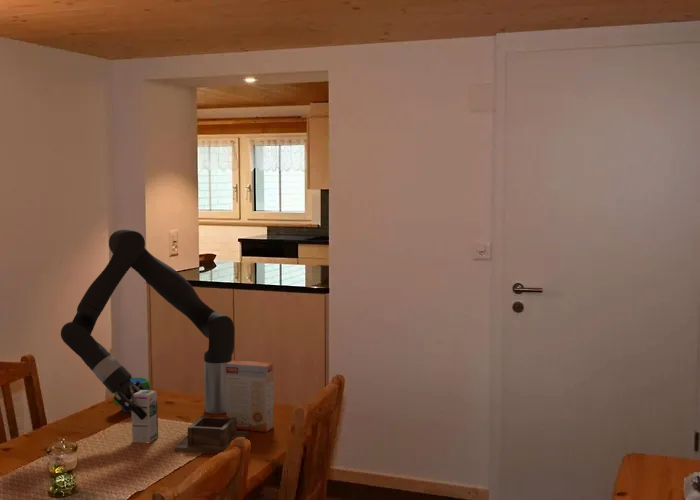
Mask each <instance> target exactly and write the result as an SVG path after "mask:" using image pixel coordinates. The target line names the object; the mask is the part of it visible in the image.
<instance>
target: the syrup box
mask: <svg viewBox="0 0 700 500" xmlns="http://www.w3.org/2000/svg"><path fill="white" fill-rule="evenodd" d="M134 396H135V398H136V402H137V404H138V406H140V407H141V408H142V409H143V410H144V412H145V413H146V414H147V416H146V417H145V418H144V419H143V420H141V419H140V418H139V417H138V416H137V415H136V414H135V413H134V412H133V411H131V412H130V413H131V439H132V442H133V441H136V442H135V443H140V442H150V443H151V442H153V441H154V440H156V439H158V438H159V420H158V419H159V417H158V415H159V414H158V391H157V390H153V389H150V390H140V391H138V392H136V393H135V394H134Z"/></svg>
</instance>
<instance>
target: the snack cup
mask: <svg viewBox="0 0 700 500" xmlns="http://www.w3.org/2000/svg"><path fill="white" fill-rule="evenodd" d="M130 381H131V382H132V383H134V384H135V383H136V382H137V381H139V382H140V383H141V384H142V385H143V386H144V387H145V389H146V390H151V386H150V383H149V379H147V378H146V377H132V378H131V379H130ZM116 394H117V392H116V393H114V396H115V395H116ZM114 396H113V397H114ZM113 404H114V405H115V406H120V409H121V410H122V412H123V413H131V411H130V410H129V411H128V412H127V411H126V410H125V409H124V408H123V407H122V406H121V405H120V404H119V403H118V402H117V401H116V400H115V399H114V398H113ZM125 405H126V404H125ZM127 407H128V406H127Z"/></svg>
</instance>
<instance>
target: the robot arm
mask: <svg viewBox="0 0 700 500" xmlns="http://www.w3.org/2000/svg"><path fill="white" fill-rule="evenodd" d="M108 248H109V250H110V252H111V254H112V256H111V258H110V260H109V262H108V263H107V264H106V266H105V268H104V269H103V270H102V271H101V272H100V274H99V275H98V276H97V277H96V278H95V279H94V281H92V283H91V284H90V285H89V286H88V288H87V290H86V291H85V293H84V295H83V296H82V298H81V300H80V302H79V303H78V306H77V308H76V314H75V315H74V317H73V319H72V321H69V322H67V323H65V324H64V325H63V326H62V328H61V329H60V337H61V340H62V341H63V342H64V344H65V345H66V346H67V347H69V348H70V349H71V350H72V351H73V352H74V353H75V354H76V355H77V356H79V357H80V358H81V360H82V362H84V364H85V365H86V366H87V367H88V368H89V369H90V370H91V371H92V373H93V374H94V375H95V377H96V378H97V379H98V380H99V381H100V382H101V384H103V386H105V388H106V389H108V391H109V392H110V393H111V394H114V395H115V393H116V392H117V394H116V395H115V396H113V400H114V399H115V400H116V401H117V402H118V403H119V404H120V405H121V406H122V407H123V408H124V409H125V410H126V411H127V412H126V413H129V412H128V411H129V410H130V411H133V412H134V413H135V414H136V415H137V416H138V417H139V418H140V419H141V420H143V419H144V418H145V417H146V416H147V414H146V413H145V412H144V410H143V409H142V408H141V407H140V406H138V404H137V402H136V398H135V396H134V394H135V393H136V392H138V391H140V390H146V389H145V387H144V386H143V385H142V384H141V383H140V382H139V381H137V382H136V383H135V384H134V383H132V382H131V381H130V379H131V378H133V377H132V375H133V374H131V373H130V372H129V371H128V370H127V369H126V368H125V367H124V366H123V364H122V363H120V361H119V360H118V359H117V358H116V357H114V356H113V355H111V353H110V352H109V351H108V350H107V348H105V346H103V344H101V343H99V342H98V341H97V340H96V339H95V338H94V337H93V335H92V332H93V330H94V329H95V326H96V323H97V320H98V319H99V317H100V316H101V314H102V312H103V311H104V309H105V307H106V306H107V304H108V302H109V300H110V298H111V297H112V295H113V293H114V291H115V290H116V289H117V287H118V286H119V284H120V282H122V280H123V278H124V277H125V276H126V274H127V273H128V271H129V270H130V269H133V271H135V272H137V273H138V275H139V276H141V278H143V280H144V281H145V282H146V283H147V284H148V285H149V286H150V287H152V289H153V290H155V292H156V293H158V294H159V295H160V296H161V298H163V299H164V300H165V301H166V302H167V303H169V304H170V305H171V306H173V308H175V309H176V310H177V311H179V312H180V313H182V314H183V315H184V316H185V317H187V318H188V319H189V320H190V321H191V323H192V324H193V325H194V326H195V327H196V328H197V329H198V330H199V332H200V333H202V335H203V336H204V337H205V338H207V339H208V347H207V348H208V349H207V351H205V352H204V355H203V358H204V359H203V360H204V361H203V367H204V373H203V374H204V412H206V413H208V414H210V415H211V414H214V415H216V414H217V415H219V414H220V415H221V414H227V401H226V364H227V363H229V362H232V361H233V357H232V356H233V354H234V350H235V324H234V321H233V319H232V318H231V317H230V316H228V315H226V314H223V313H220V312H217V311H215V310H214V309H213V308H211V307H210V306H209V305H208V304H206V303H205V302H204V301H203V300H202V299H201V298H200V297H199V295H198V293H197V292H196V290H195V288H194V287H193V285H192V284H191V283H190V282H189V281H188V280H187V279H186V278H185V276H184V277H183V275H182V274H180V273H179V272H178V271H177V270H176V269H175V268H173V267H172V266H170V265H168V264H167V263H165V262H164V261H162V260H160V259H159V258H157V257H156V256H154V255H153V254H151V252H149V251H148V250H147V249H146V241H145V237H144V236H143V234H142V233H140V232H139V231H137V230H134V229H118V230H116V231H114V232H113V233H112V234H111V235H110V236H109V240H108ZM125 404H126V405H125ZM120 405H119V406H120ZM121 406H120V407H121ZM127 406H128V407H127Z"/></svg>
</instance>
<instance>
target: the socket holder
mask: <svg viewBox="0 0 700 500" xmlns="http://www.w3.org/2000/svg"><path fill="white" fill-rule="evenodd" d="M237 437H245V438H246V439H247V438H248V437H249V431H245V430H241V431H240V430H239V431H238V430H237V429H236V418H234V417H232V418H227V417H219V416H217V417H214V416H206V415H201V416H200V417H199V418H197V419H196V420H195V421H194V422H193V423H191V424H190V425H189V426H188V427H187V436H185V437H184V438H183V439H182V440H181V441H180V442H178V443H177V444H176V445H175V446H174V447H173V448H174V449H173V450H174V452H178V451H182V453H198V454H214V455H215V454H217V453H220V452H222V451H224V450H226V449H227V448H229V447H230V443H231V441H232V440H234V439H235V438H237ZM217 455H218V454H217Z"/></svg>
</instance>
